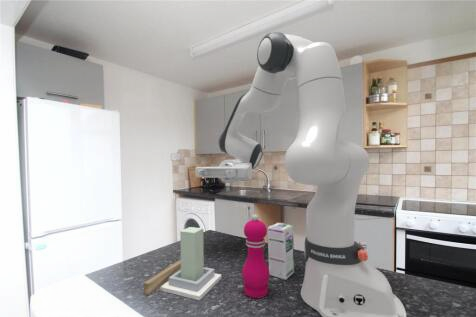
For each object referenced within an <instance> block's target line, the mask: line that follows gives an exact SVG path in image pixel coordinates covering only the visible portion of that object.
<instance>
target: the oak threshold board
mask: <svg viewBox="0 0 476 317" xmlns="http://www.w3.org/2000/svg"><path fill="white" fill-rule="evenodd" d="M180 269H181V259H178V260H177V261H176V262H174V263H172V264H171V265H169V266H168V267H166V268H165V269H163V270H161V271H160V272H159V273H157V274H155V275H153V276H152V277H150V278H148V280H145V281H144V282H143V295H144V296H150V295H151V294H153V293H154V292H156V291H157V290H158V289H160V287H161V286H162V285H164V284H165V283H166V282H168V281H169V277H170V276H172V275H173V274H175V273H176V272H178V271H179V270H180Z"/></svg>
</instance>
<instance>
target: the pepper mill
mask: <svg viewBox="0 0 476 317" xmlns="http://www.w3.org/2000/svg"><path fill="white" fill-rule="evenodd" d="M259 218H260V217H259V215H258V214H252V216H251V220H249V221H247V222H246V223H245V225H244V226H243V234H244V236H245V237H246V239H245V245H246V247H247V257H246V260H245V263H244V264H243V267H242V272H241V278H242V280H243V282H244V284H243V292H244V294H245V295H246V296H247V297H250V298H255V299H259V298H263V297H265V296H266V295H267V294H269V284H268V281H270V278H271V275H270V273H269V265H268V263H267V262H266V260H265V255H264V247H265V245H266V239H265V237H266V236H267V235H268V227H267V225H266V224H265V223H264V222H263V221H262V220H259Z"/></svg>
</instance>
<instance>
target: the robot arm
mask: <svg viewBox="0 0 476 317" xmlns="http://www.w3.org/2000/svg"><path fill="white" fill-rule="evenodd" d="M256 56H257V62H258V63H257V64H258V67H257V68H256V72H255V74H254V77H253V81H252V84H251V87H250V89H249V90H248V92H246V93H245V94H242V95H241V96H240V97H239V98H238V99H237V102H236V103H235V105H234V108H233V110H232V111H231V115H230V117H229V119H228V121H227V124H226V126H225V128H224V129H223V132H222V133H221V135H220V136H219V138H218V146H219V149H220V151H221V152H223V153H225V154H227V155H230V156H232V157H233V158H235V159H225V160H223V161H221V163H220V164H219V166H197V167H195V170H194V173H195V174H194V176H195V177H196V178H214V179H216V178H218V179H219V180H221V181H222V182H223V183H226V184H233V183H238V182H245V181H247V182H249V181H252V180H253V179H252V177H253V173H254V169H256V168H257V167H258V166H259V164H260V162H261V161H262V158H263V147H262V145H261V143H259V142H257V141H256V140H254V139H252V138H249V137H247V136H246V135H243V134H242V133H240V131H239V128H240V126H241V124H242V123H243V120H244V118H245V116H246V114H266V113H267V114H268V113H270V112H273V111H274V110H275V109H276V108H278V106H279V104H280V102H281V100H282V97H283V94H284V91H285V88H286V85H287V82H288V80H289V79H291V78H292V79H296V88H297V90H296V91H297V98H298V109H299V123H298V125H299V126H298V129H297V134H296V137H295V139H294V141H293V142H292V144H291V145H290V146H289V147H288V148H287V150H286V152H285V155H284V159H283V160H284V161H283V162H284V169H285V173H286V174H287V176H288V177H289V178H290V179H291V180H292V181H293V182H295V183H298V184H301V185H305V186H311V187H313V186H314V187H315V186H316V190H315V193H314V195H313V197H312V199H311V200H310V202H308V204H307V207H306V210H305V211H306V214H305V216H306V218H305V219H306V223H305V224H306V225H305V226H306V236H305V239H304V242H303V243H304V247H303V248H304V261H305V269H304V270H305V271H304V275H303V276H304V278H303V281H302V282H303V283H302V285H301V289H300V296H301V298H302V300H303V301H304V302H305V303H306V305H308V306H310V308H313V309H314V310H316V311H317V312H318V313H319V315H320V316H321V317H407V312H406V309H405V306H404V305H403V303H402V301H401V300H400V298H399V297H397V295H396V294H394V293H393V290H392V286H391V284H390V283H389V280H388V279H387V277H386V276H385V274H384V273H382V272H381V271H380V270H378V269H377V268H376V267H375V266H373V265H372V264H371V263H370V262H369V261H367V260H369V255H368V252H367V251H366V250H365V247H364V246H363V244H361V242H359V243H358V242H357V241H355V212H356V206H357V205H356V204H357V200H358V195H359V192H360V187H361V184H362V179H363V177H364V175H365V174H366V172H368V169H369V167H370V157H369V154H368V152H367V150H366V149H365V148H364V147H362V146H361V145H359V144H357V143H355V142H353V141H349V140H341V139H339V134H340V133H339V132H340V126H341V121H342V119H343V118H344V117H346V114H347V103H346V97H345V96H346V95H345V89H344V80H343V74H342V70H341V66H340V62H339V60H338V56H337V54H336V50H335V48H334V47H333V45H331V44H330V43H328V42H326V41H312V40H310V39H308V38H306V37H305V38H304V37H303V36H299V35H295V34H287V33H283V32H281V31H280V32H279V31H277V32H276V31H275V32H269V33H266V34H265V35H264V37H262V39H261V40H260V42H259V44H258V48H257V54H256Z"/></svg>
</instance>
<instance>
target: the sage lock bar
mask: <svg viewBox="0 0 476 317" xmlns="http://www.w3.org/2000/svg"><path fill="white" fill-rule="evenodd" d="M179 234H180V235H179V236H180V260H181V278H182V279H187V280H192V281H197V280H199V279H200V278H201V277H202V276H203V275H204V267H205V264H204V263H205V262H204V261H205V260H204V254H205V253H204V246H205V245H204V228H202V227H201V228H200V227H194V226H188V227H187V228H185V229H182V230H180V232H179Z"/></svg>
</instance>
